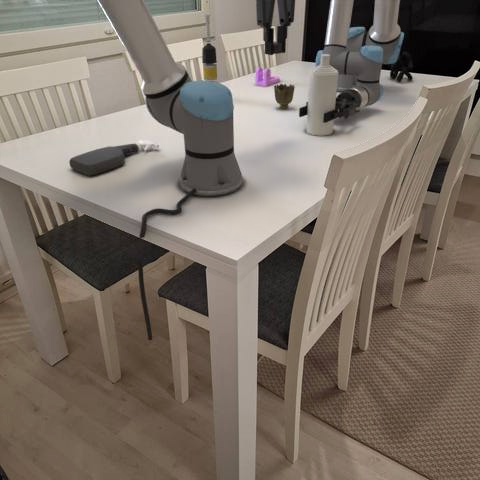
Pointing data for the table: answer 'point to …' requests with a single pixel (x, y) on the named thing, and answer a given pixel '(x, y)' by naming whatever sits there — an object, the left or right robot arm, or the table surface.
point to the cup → (284, 95)
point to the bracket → (265, 77)
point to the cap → (277, 48)
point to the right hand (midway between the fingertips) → (312, 115)
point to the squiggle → (401, 67)
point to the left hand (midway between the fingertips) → (275, 53)
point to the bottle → (321, 97)
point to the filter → (209, 57)
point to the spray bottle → (106, 157)
